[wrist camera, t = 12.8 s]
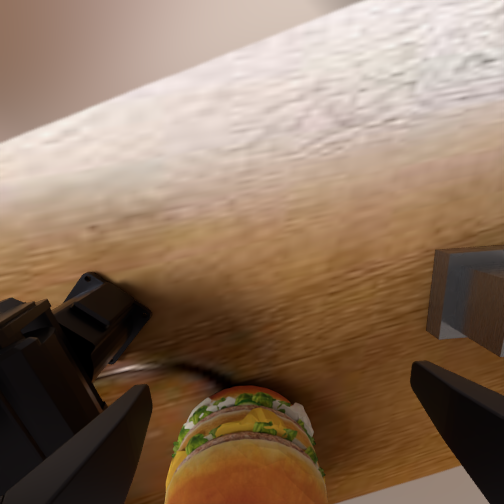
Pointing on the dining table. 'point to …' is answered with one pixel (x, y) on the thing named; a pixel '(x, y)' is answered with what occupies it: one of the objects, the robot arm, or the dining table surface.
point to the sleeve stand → (468, 296)
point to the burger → (246, 452)
